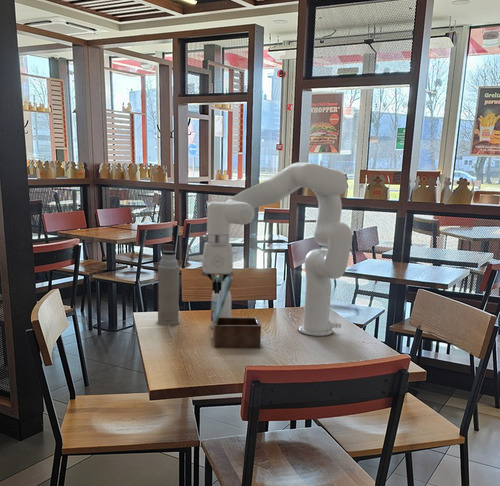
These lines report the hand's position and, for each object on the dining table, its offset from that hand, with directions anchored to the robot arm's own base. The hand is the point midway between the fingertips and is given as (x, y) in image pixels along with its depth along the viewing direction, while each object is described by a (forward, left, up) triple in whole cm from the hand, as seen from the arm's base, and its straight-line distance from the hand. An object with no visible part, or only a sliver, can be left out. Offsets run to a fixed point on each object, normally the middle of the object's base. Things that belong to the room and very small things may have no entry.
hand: (216, 292), depth 196 cm
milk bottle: (-3, -20, -18) cm, 27 cm away
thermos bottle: (+17, -26, -18) cm, 36 cm away
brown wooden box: (-7, 0, -18) cm, 19 cm away
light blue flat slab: (-2, 0, -2) cm, 3 cm away
